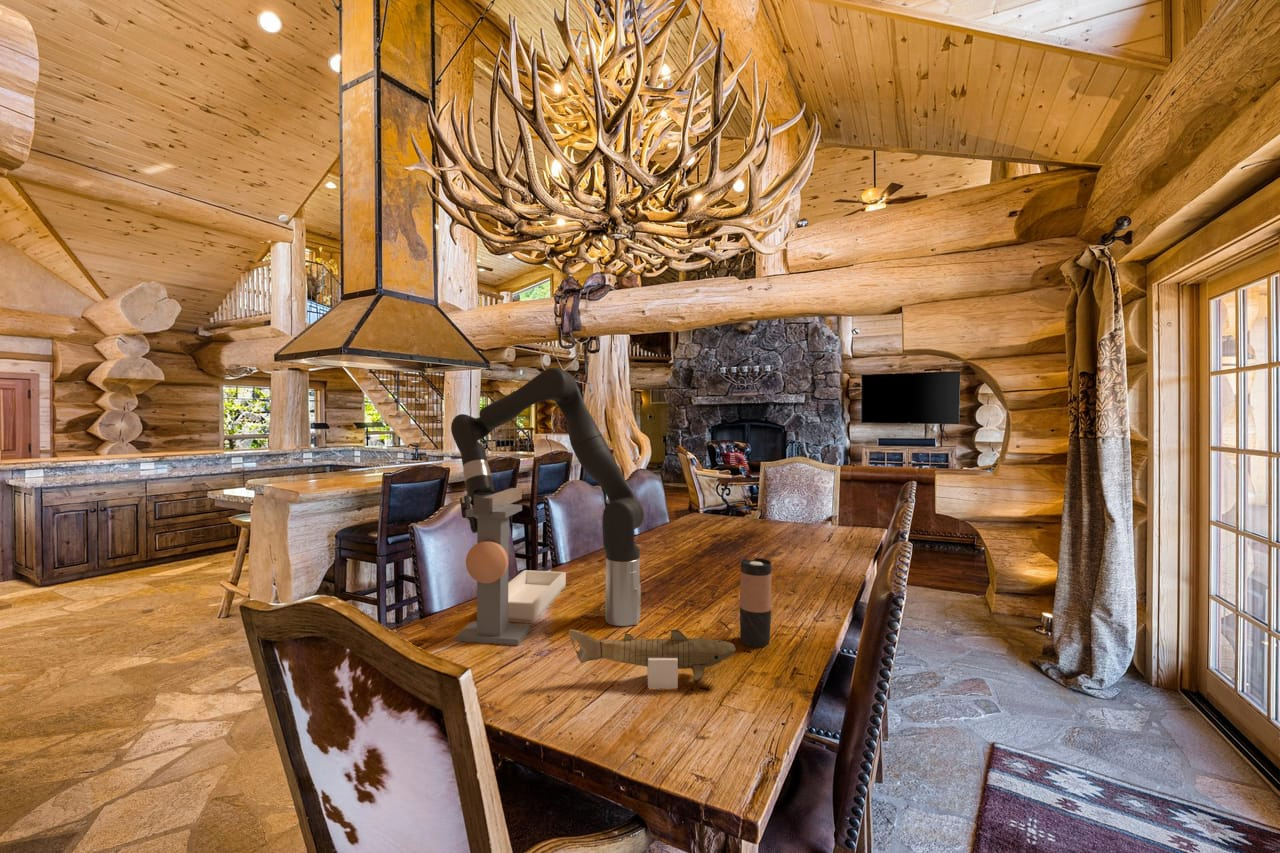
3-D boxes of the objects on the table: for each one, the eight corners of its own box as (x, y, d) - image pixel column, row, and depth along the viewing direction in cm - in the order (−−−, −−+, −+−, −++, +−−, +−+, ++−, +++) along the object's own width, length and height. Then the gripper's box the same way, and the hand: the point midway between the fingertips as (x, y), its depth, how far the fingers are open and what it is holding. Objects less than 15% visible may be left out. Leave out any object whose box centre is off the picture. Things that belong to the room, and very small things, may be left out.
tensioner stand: (532, 629, 137) (533, 505, 136) (516, 647, 126) (517, 512, 125) (474, 625, 139) (474, 503, 138) (453, 642, 128) (454, 510, 128)
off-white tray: (565, 587, 170) (565, 572, 170) (533, 623, 141) (534, 604, 141) (524, 585, 172) (524, 570, 172) (484, 619, 143) (484, 601, 143)
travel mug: (762, 651, 125) (764, 567, 125) (733, 642, 130) (734, 562, 129) (775, 640, 131) (776, 560, 131) (747, 632, 136) (748, 555, 136)
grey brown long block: (523, 500, 146) (523, 486, 146) (489, 514, 124) (489, 498, 124) (509, 500, 146) (509, 486, 146) (473, 514, 124) (473, 498, 124)
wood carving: (570, 671, 114) (570, 620, 114) (730, 671, 115) (731, 620, 115) (565, 693, 105) (565, 638, 105) (739, 693, 106) (739, 638, 106)
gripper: (467, 471, 146) (477, 527, 140) (504, 475, 158) (515, 527, 152) (449, 481, 149) (458, 537, 143) (487, 484, 161) (497, 535, 155)
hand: (488, 532), depth 148 cm, fingers open, 8 cm apart
